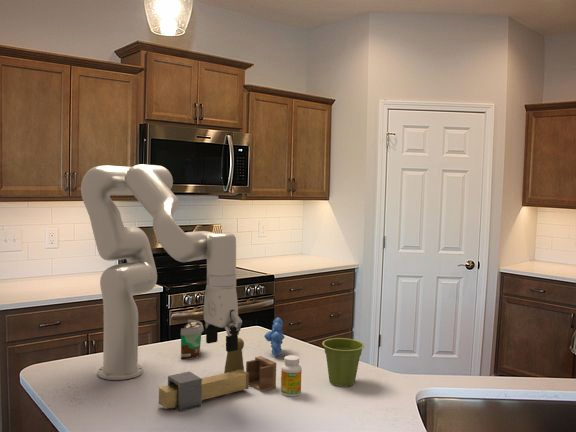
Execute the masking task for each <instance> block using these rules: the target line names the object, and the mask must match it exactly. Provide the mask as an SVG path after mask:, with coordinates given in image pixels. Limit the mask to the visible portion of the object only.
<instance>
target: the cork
mask: <svg viewBox="0 0 576 432" xmlns="http://www.w3.org/2000/svg"><path fill="white" fill-rule="evenodd" d="M244 346H245V342H244V339H243V338H241V337H238V349H237V350H235V351H230V352H227V351H226V352H227V353H226V358H225V364H224V365H225V366H224V371H223V373H228V372H232V371H237V370H239V369H241V370H243V371H245V366H244V357H243V348H244Z"/></svg>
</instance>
